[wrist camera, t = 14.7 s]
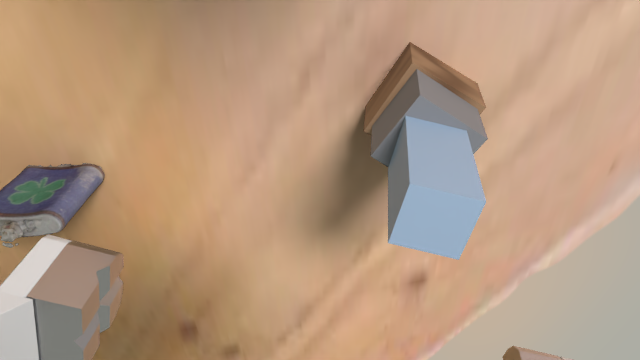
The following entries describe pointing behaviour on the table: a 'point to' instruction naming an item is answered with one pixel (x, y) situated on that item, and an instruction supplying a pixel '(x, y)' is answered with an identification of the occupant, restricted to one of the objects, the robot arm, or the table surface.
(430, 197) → the pillar
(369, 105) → the tower base
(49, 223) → the flask
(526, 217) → the table surface
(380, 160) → the tower middle
